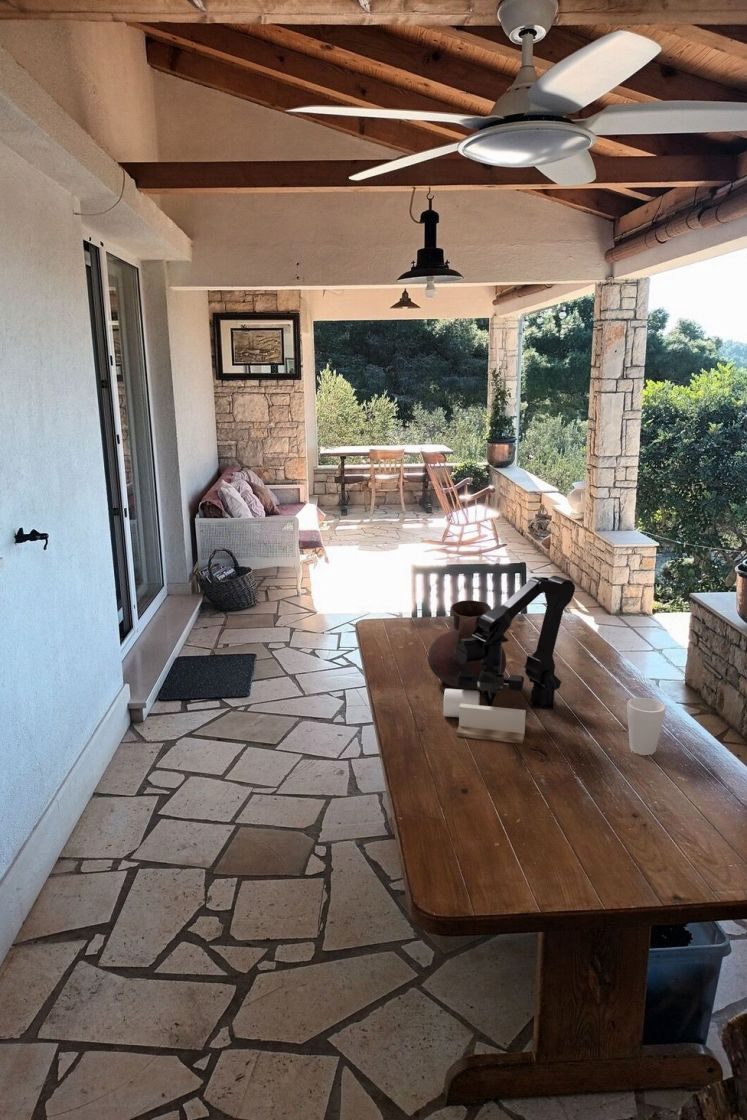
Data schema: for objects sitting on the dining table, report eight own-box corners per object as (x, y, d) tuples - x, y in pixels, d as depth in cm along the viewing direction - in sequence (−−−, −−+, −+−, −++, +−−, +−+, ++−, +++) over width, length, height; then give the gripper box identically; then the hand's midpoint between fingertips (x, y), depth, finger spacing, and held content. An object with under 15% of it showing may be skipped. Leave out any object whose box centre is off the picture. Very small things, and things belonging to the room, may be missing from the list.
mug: (477, 723, 222) (478, 697, 221) (443, 720, 224) (443, 694, 222) (480, 706, 234) (480, 681, 232) (446, 704, 236) (447, 679, 234)
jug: (417, 691, 245) (418, 615, 240) (441, 664, 268) (442, 595, 262) (495, 703, 236) (498, 624, 231) (512, 674, 259) (515, 602, 253)
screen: (524, 733, 216) (525, 710, 214) (522, 743, 210) (523, 719, 208) (460, 726, 221) (460, 703, 219) (456, 736, 215) (457, 712, 213)
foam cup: (661, 745, 209) (665, 700, 206) (661, 761, 200) (666, 714, 197) (624, 740, 212) (627, 695, 209) (623, 755, 203) (626, 709, 201)
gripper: (454, 664, 218) (453, 716, 221) (522, 670, 213) (520, 723, 216) (460, 651, 228) (459, 701, 232) (525, 656, 224) (522, 707, 227)
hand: (489, 708), depth 226 cm, fingers closed
